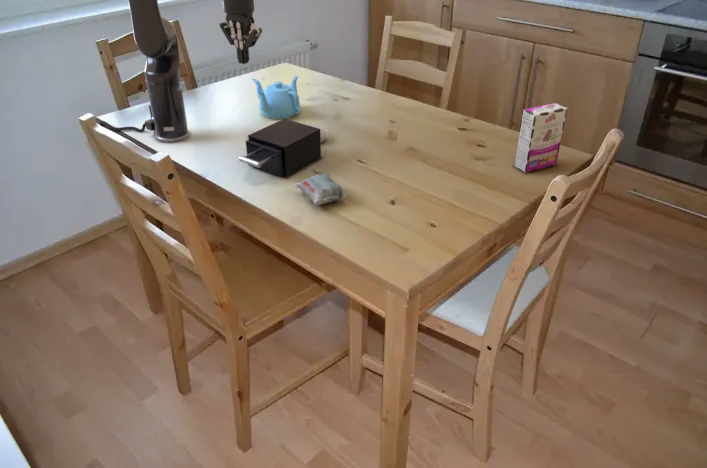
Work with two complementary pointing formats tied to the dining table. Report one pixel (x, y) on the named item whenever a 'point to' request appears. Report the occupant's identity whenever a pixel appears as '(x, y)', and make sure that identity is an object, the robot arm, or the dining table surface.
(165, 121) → the robot arm
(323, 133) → the donut
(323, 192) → the packaged food
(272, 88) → the teapot
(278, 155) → the drawer
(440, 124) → the dining table surface
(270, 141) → the cabinet
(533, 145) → the candy bar box
